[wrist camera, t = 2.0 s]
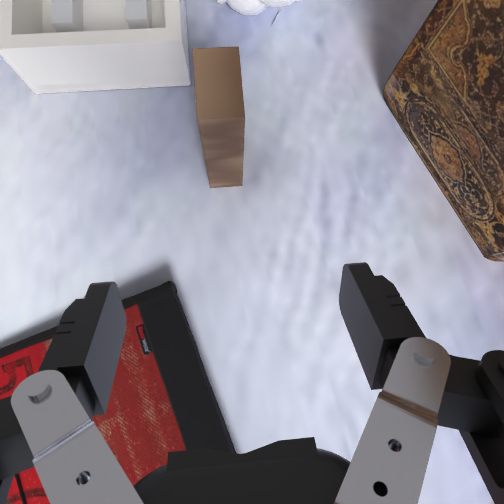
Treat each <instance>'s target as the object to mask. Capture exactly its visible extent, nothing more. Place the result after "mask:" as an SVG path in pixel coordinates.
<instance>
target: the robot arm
mask: <svg viewBox="0 0 504 504" xmlns="http://www.w3.org/2000/svg"><path fill="white" fill-rule="evenodd" d="M339 305H340V310H341V314H342V316H343V319H344V321H345V324H346V327H347V329H348V332H349V334H350V337H351V339H352V342H353V344H354V347H355V349H356V352H357V355H358V357H359V360H360V362H361V365H362V367H363V370H364V372H365V375H366V377H367V380H368V383H369V385H370V388H371V390H374V389H383V390H382V392H380V393H379V395H378V397H377V400H376V402H375V405H374V407H373V409H372V412H371V414H370V417H369V419H368V422H367V424H366V426H365V429H364V431H363V434H362V436H361V439H360V441H359V444H358V446H357V448H356V451H355V453H354V456H353V458H352V461H351V462H350V461H348V460H346V459H345V458H343V457H341V456H339V455H337V454H335V453H332V452H329V451H326V450H323V449H317V448H316V443H315V439H314V437H310V438H300V439H291V440H281V441H277V442H274V443H271V444H269V445H266V446H264V447H261V448H258V449H256V450H253V451H250V452H248V453H245V454H236V453H230V452H224V451H218V450H212V449H206V448H203V449H193V450H183V451H173V452H168V459H167V464H166V465H163V466H161V467H159V468H157V469H155V470H153V471H152V472H150V473H149V474H147V475H146V476H144V477H143V478H142V479H141V480H139V481H138V482H137V483H136V484H135V485H134V486H133V485H132V484H131V482H130V480H129V479H128V477H127V476H126V474H125V472H124V471H123V469H122V467H121V466H120V464H119V462H118V461H117V459H116V458H115V456H114V454H113V453H112V451H111V449H110V448H109V446H108V444H107V443H106V441H105V440H104V438H103V436H102V435H101V433H100V431H99V430H98V428H97V427H96V425H95V423H94V422H93V421H92V417H93V415H104V414H106V410H107V406H108V401H109V397H110V393H111V389H112V385H113V381H114V377H115V373H116V369H117V365H118V361H119V356H120V352H121V348H122V344H123V340H124V336H125V332H126V315H125V311H124V308H123V304H122V301H121V298H120V295H119V291H118V288H117V285H116V283H115V282H101V283H91V284H90V286H89V288H88V291H87V293H86V296H85V298H84V299H76V300H75V301H74V302H73V303H72V304H71V305H70V306H69V307H68V308H67V309H66V310H65V312H64V314H63V316H62V319H61V321H60V325H58V328H57V330H56V332H55V335H54V337H53V339H52V341H51V343H50V346H49V348H48V350H47V352H46V355H45V357H44V359H43V361H42V364H41V366H40V368H39V370H38V372H37V373H35V374H33V375H31V376H29V377H27V378H26V379H25V380H23V381H22V382H21V383H20V384H19V385H18V386H17V388H16V389H15V390H14V392H13V394H12V395H11V396H9V397H6V398H3V399H1V400H0V504H5V502H6V499H7V496H8V493H9V490H10V487H11V484H12V481H13V478H14V475H15V474H17V473H20V472H22V471H25V470H27V469H30V468H32V467H35V469H36V471H37V474H38V476H39V478H40V481H41V483H42V485H43V488H44V490H45V492H46V495H47V497H48V500H49V502H50V504H418V500H419V496H420V492H421V488H422V484H423V480H424V476H425V472H426V468H427V464H428V460H429V456H430V452H431V448H432V444H433V440H434V437H435V433H436V429H437V425H439V426H444V427H449V428H453V429H458V430H459V432H460V434H461V436H462V438H463V440H464V442H465V444H466V446H467V448H468V450H469V452H470V454H471V456H472V458H473V460H474V462H475V464H476V466H477V468H478V471H479V473H480V475H481V477H482V479H483V481H484V483H485V485H486V487H487V489H488V491H489V493H490V495H491V497H492V499H493V501H494V503H495V504H504V351H501V350H494V351H489V352H487V353H485V354H484V355H483V357H482V359H481V361H479V360H473V359H467V358H461V357H456V356H452V355H449V354H448V352H447V351H446V350H445V349H444V348H443V347H442V346H441V345H440V344H438V343H436V342H435V341H433V340H430V339H427V338H426V337H425V335H424V334H423V332H422V330H421V329H420V327H419V326H418V324H417V322H416V321H415V319H414V317H413V316H412V314H411V312H410V311H409V309H408V307H407V306H405V302H404V301H403V299H402V297H400V294H399V292H398V291H397V289H396V287H395V286H394V284H393V283H391V282H390V281H389V280H387V279H386V278H385V277H384V276H382V275H380V276H374V274H373V273H372V271H371V269H370V267H369V265H368V264H367V263H366V262H364V263H351V264H345V265H344V266H343V272H342V279H341V287H340V294H339Z"/></svg>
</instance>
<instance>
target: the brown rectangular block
mask: <svg viewBox="0 0 504 504" xmlns="http://www.w3.org/2000/svg"><path fill="white" fill-rule="evenodd" d="M192 51H193V66H194V81H195V97H196V112H197V122H198V127H199V132H200V138H201V143H202V148H203V153H204V158H205V163H206V168H207V173H208V178H209V183H210V188H216V187H230V186H242V178H243V153H244V128H245V113H244V101H243V90H242V79H241V68H240V56H239V47H218V48H198V49H192Z"/></svg>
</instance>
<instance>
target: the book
mask: <svg viewBox="0 0 504 504" xmlns="http://www.w3.org/2000/svg"><path fill="white" fill-rule="evenodd" d="M384 99H385V102H386V103H387V105H388V107H389V108H390V110H391V112H392V113H393V115H394V117H395V118H396V120H397V122H398V123H399V125H400V126H401V128H402V130H403V131H404V133H405V135H406V136H407V138H408V139H409V141H410V142H411V144H412V145H413V147H414V149H415V150H416V152H417V153H418V155H419V156H420V158H421V159H422V161H423V162H424V164H425V166H426V167H427V169H428V170H429V172H430V173H431V175H432V176H433V178H434V179H435V181H436V183H437V184H438V186H439V187H440V189H441V190H442V192H443V193H444V195H445V196H446V198H447V200H448V201H449V203H450V204H451V206H452V207H453V209H454V210H455V212H456V213H457V215H458V217H459V218H460V220H461V221H462V223H463V224H464V226H465V227H466V229H467V230H468V232H469V234H470V235H471V237H472V238H473V240H474V241H475V243H476V244H477V246H478V247H479V249H480V251H481V252H482V254H483V255H484V257H485V258H487V259H489V260H493V261H504V0H438V2H437V3H436V5H435V6H434V8H433V9H432V11H431V12H430V14H429V16H428V17H427V19H426V20H425V22H424V23H423V25H422V27H421V28H420V30H419V31H418V33H417V34H416V36H415V38H414V39H413V41H412V42H411V44H410V45H409V47H408V49H407V50H406V52H405V53H404V55H403V56H402V58H401V59H400V61H399V63H398V64H397V66H396V67H395V69H394V71H393V72H392V74H391V75H390V77H389V79H388V82H387V83H386V85H385V88H384Z"/></svg>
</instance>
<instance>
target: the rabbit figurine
mask: <svg viewBox="0 0 504 504" xmlns="http://www.w3.org/2000/svg"><path fill="white" fill-rule="evenodd" d="M295 1H300V0H217V2H218V3H219V4H223V3H225V2H227V3H228V4H229V6H230V7H231V8H232V9H234V10H235V11H237V12H238V13H240V14H243V15H257V14H259V13H261V12H263V11H264V10H265V9H266V8H267V6H269V7H283V6H286V5H289V4H292V3H293V2H295ZM279 12H280V11H279ZM278 14H279V13H278ZM277 16H278V15H277ZM276 18H277V17H276ZM275 20H276V19H275ZM273 23H274V22H273ZM272 25H273V24H272Z"/></svg>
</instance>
